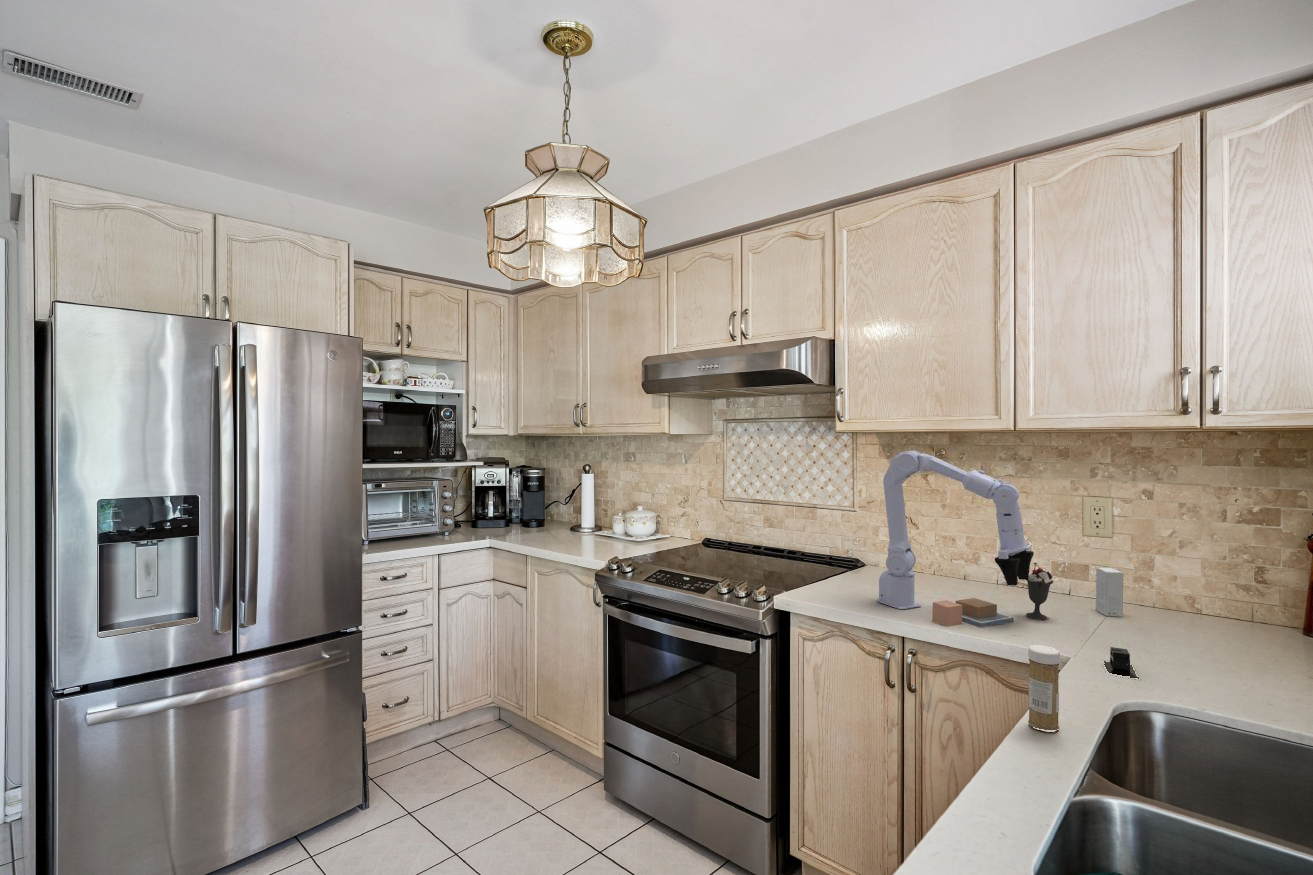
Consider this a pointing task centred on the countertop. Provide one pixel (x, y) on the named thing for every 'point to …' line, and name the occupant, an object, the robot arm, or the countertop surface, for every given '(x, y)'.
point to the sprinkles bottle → (1043, 687)
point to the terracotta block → (947, 613)
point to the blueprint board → (982, 613)
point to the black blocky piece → (1120, 663)
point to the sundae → (1038, 590)
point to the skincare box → (1109, 592)
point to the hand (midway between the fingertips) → (1018, 582)
